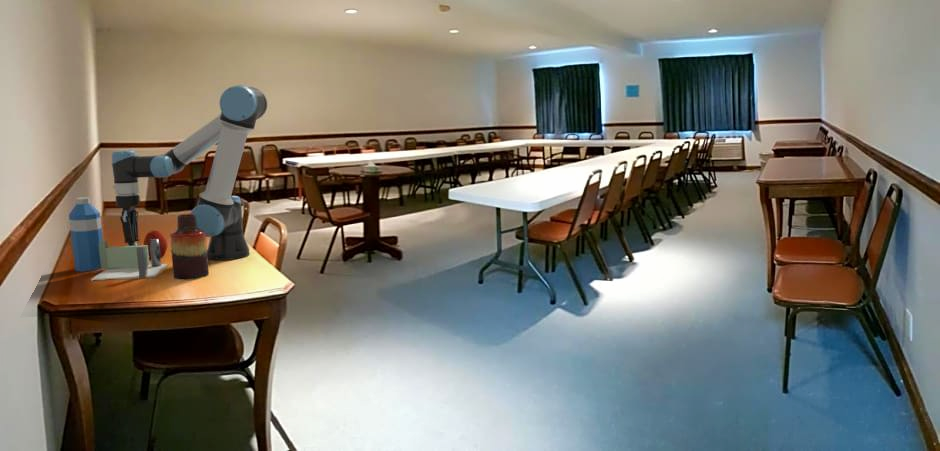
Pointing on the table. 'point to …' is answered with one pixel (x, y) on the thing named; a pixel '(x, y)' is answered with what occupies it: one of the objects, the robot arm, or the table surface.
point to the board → (128, 272)
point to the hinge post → (155, 252)
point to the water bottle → (85, 235)
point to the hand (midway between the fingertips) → (133, 259)
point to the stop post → (141, 262)
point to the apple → (161, 241)
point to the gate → (120, 256)
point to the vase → (189, 249)
